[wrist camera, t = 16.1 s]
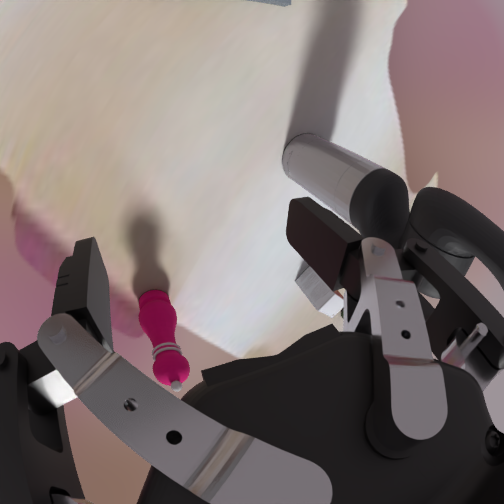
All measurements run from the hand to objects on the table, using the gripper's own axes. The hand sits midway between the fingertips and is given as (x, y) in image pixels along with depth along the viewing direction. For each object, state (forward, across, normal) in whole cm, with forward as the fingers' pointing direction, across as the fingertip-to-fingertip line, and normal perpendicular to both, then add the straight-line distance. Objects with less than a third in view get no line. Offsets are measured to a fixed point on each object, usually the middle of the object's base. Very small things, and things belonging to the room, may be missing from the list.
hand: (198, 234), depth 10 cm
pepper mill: (+30, +4, +33) cm, 45 cm away
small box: (+30, -33, +39) cm, 59 cm away
